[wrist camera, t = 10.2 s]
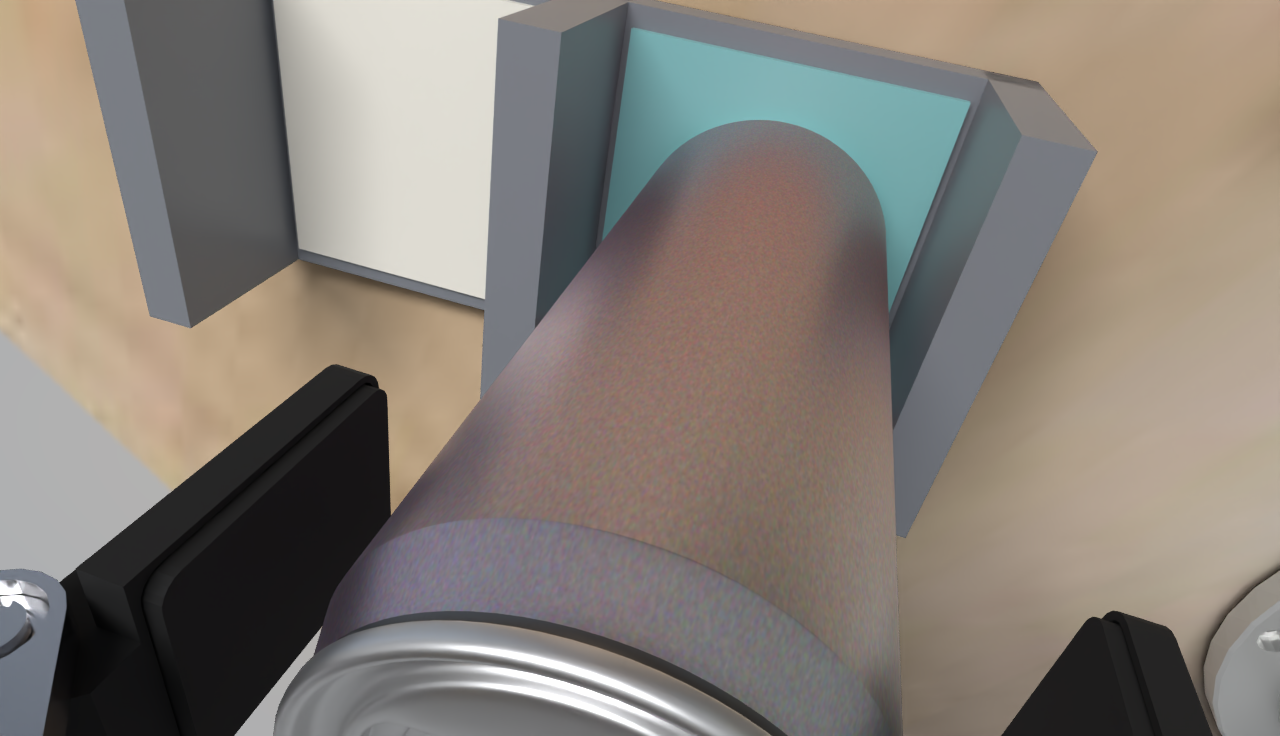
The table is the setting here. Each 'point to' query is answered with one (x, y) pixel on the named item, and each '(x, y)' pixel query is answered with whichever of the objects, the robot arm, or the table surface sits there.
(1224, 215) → the table surface
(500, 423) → the beverage can
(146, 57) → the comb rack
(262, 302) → the table surface
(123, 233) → the table surface
